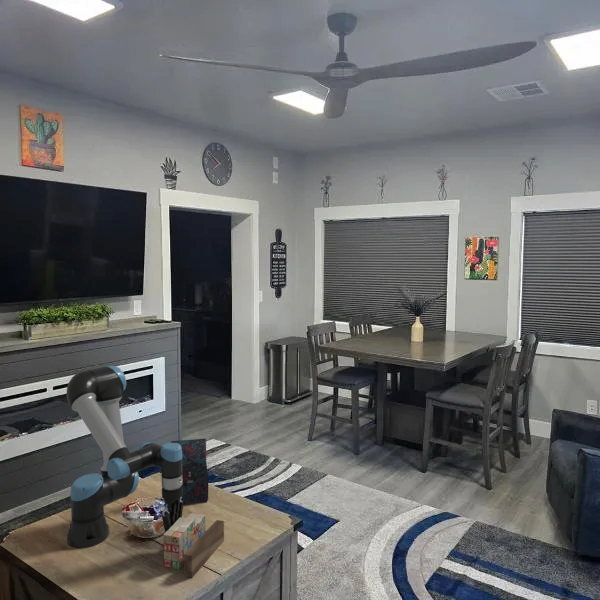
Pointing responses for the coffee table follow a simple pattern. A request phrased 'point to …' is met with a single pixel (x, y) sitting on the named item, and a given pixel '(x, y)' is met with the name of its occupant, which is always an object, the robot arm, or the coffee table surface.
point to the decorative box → (194, 471)
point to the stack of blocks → (182, 539)
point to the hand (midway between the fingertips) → (173, 546)
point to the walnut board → (203, 548)
